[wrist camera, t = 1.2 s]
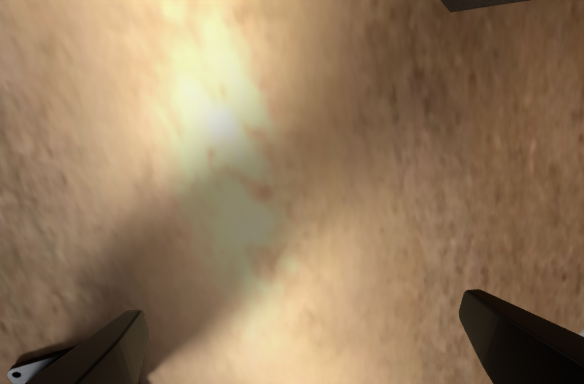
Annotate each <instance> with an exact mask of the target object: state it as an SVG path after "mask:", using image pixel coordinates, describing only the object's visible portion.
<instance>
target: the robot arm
mask: <svg viewBox="0 0 584 384" xmlns="http://www.w3.org/2000/svg"><path fill="white" fill-rule="evenodd" d="M459 318H460V321H461V323H462V325H463V327H464V329H465V332H466V334H467V336H468V338H469V340H470V342H471V344H472V346H473V348H474V350H475V352H476V354H477V356H478V358H479V360H480V362H481V364H482V366H483V368H484V369H485V371H486V373H487V374H488V376H489V378H490V379H491V381H492V382H493V384H584V337H583V336H580V335H578V334H576V333H574V332H572V331H570V330H567V329H565V328H563V327H561V326H559V325H556V324H554V323H552V322H550V321H548V320H546V319H543V318H541V317H539V316H537V315H535V314H532V313H530V312H528V311H526V310H524V309H522V308H519V307H517V306H515V305H513V304H511V303H509V302H506V301H504V300H502V299H500V298H498V297H495V296H493V295H491V294H489V293H487V292H485V291H482V290H479V289H474V290H466V291H465V292H464V294H463V298H462V301H461V305H460V308H459ZM148 339H149V331H148V327H147V324H146V320H145V317H144V313H143V311H141V310H128V311H126V312H124V313H123V314H121V315H120V316H118V317H117V318H116V319H114V320H113V321H111V322H110V323H109V324H107V325H106V326H104V327H103V328H102V329H100V330H99V331H97V332H96V333H95V334H93V335H92V336H90V337H89V338H88V339H86V340H85V341H83V342H82V343H81V344H79V345H78V346H75V347H72V348H69V349H65V350H62V351H58V352H55V353H52V354H48V355H45V356H42V357H38V358H35V359H31V360H28V361H25V362H21V363H18V364H15V365H13V366H12V367H11V369H10V370H9V372H8V374H7V375H8V377H9V379H10V380H11V381H12V383H13V384H140V382H139V381H138V380H139V376H140V372H141V368H142V364H143V360H144V356H145V352H146V348H147V344H148Z"/></svg>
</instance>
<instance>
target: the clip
mask: <svg viewBox="0 0 584 384" xmlns="http://www.w3.org/2000/svg"><path fill="white" fill-rule="evenodd" d="M441 1H442V2H443V3H444V5H445V6H446V7H447V8H448V10H449V11H450V12H456V11H462V10H469V9H476V8H482V7H489V6H496V5H502V4H509V3H515V2H522V1H529V0H441Z"/></svg>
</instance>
